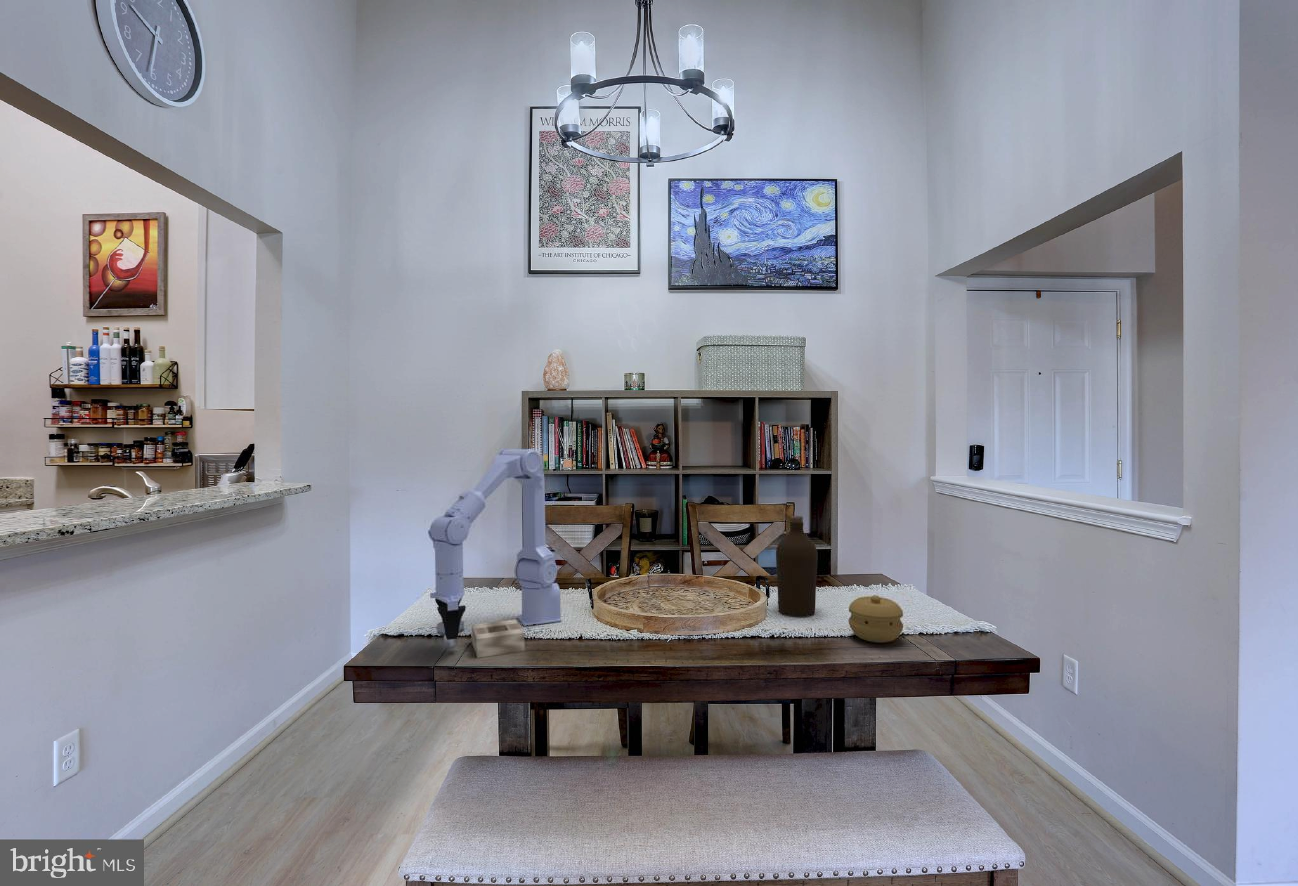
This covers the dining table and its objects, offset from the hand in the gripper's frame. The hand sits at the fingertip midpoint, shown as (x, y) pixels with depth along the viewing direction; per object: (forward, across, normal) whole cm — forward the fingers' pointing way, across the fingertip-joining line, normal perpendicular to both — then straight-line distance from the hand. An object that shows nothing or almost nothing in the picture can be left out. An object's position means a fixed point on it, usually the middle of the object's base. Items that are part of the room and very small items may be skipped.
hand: (450, 634), depth 133 cm
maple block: (+4, 0, +10) cm, 11 cm away
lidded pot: (+5, +30, +90) cm, 95 cm away
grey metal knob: (+3, 0, 0) cm, 3 cm away
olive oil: (+5, +6, +86) cm, 86 cm away
